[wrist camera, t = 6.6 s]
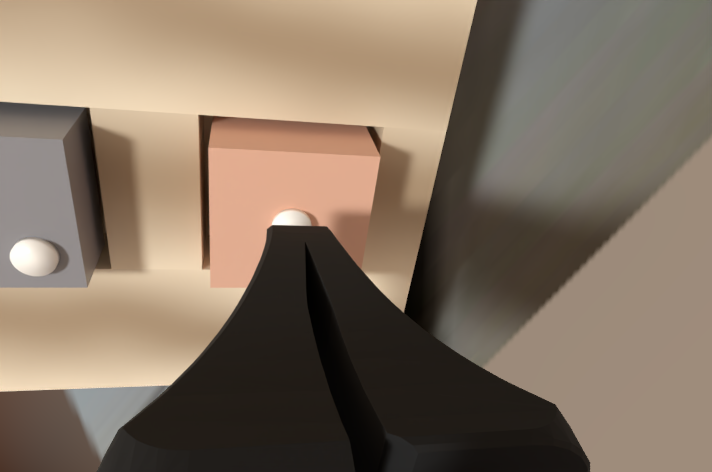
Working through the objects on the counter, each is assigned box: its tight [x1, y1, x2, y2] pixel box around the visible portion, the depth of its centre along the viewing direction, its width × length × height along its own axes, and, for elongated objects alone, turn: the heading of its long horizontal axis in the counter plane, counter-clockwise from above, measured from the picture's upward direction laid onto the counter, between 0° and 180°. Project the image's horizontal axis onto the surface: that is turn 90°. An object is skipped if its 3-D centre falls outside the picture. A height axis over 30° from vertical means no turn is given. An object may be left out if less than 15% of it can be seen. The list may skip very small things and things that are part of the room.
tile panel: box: [0, 0, 477, 391], centre depth 14 cm, size 14×22×2 cm, turn 82°
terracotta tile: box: [208, 116, 380, 288], centre depth 14 cm, size 4×4×2 cm
